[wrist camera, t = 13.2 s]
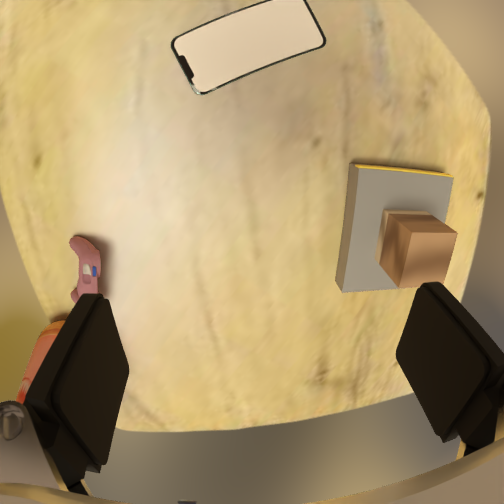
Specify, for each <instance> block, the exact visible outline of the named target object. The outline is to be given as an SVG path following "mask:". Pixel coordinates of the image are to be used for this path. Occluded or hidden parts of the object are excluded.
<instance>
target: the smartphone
mask: <svg viewBox="0 0 504 504" xmlns="http://www.w3.org/2000/svg"><path fill="white" fill-rule="evenodd" d="M325 44H326V37H325V35H324V33H323V31H322V29H321V27H320V25H319V23H318V21H317V19H316V18H315V16H314V14H313V12H312V10H311V8H310V6H309V4H308V3H307V1H306V0H265V1H262V2H259V3H256V4H253V5H250V6H248V7H245V8H242V9H239V10H237V11H234V12H231V13H229V14H226V15H224V16H221V17H219V18H216V19H214V20H211V21H209V22H207V23H204V24H202V25H200V26H198V27H195V28H193V29H191V30H189V31H187V32H185V33H183V34H181V35H179V36H177V37H175V38H174V39H173V40H172V42H171V49H172V51H173V52H174V54H175V56H176V58H177V60H178V62H179V64H180V66H181V68H182V70H183V72H184V74H185V75H186V77H187V79H188V81H189V83H190V85H191V87H192V89H193V91H194V92H195V93H196V94H199V95H205V94H208V93H210V92H212V91H214V90H216V89H218V88H220V87H222V86H225V85H227V84H229V83H231V82H233V81H236V80H238V79H240V78H243V77H245V76H247V75H250V74H252V73H254V72H257V71H259V70H262V69H264V68H267V67H269V66H272V65H274V64H277V63H280V62H282V61H285V60H288V59H291V58H293V57H296V56H299V55H302V54H305V53H308V52H311V51H314V50H317V49H320V48H323V47H324V46H325Z"/></svg>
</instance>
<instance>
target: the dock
mask: <svg viewBox="0 0 504 504" xmlns="http://www.w3.org/2000/svg"><path fill="white" fill-rule="evenodd" d="M453 179H454V177H453V176H452V175H450V174H445V173H442V172H436V171H428V170H420V169H411V168H402V167H391V166H380V165H368V164H354V163H350V164H349V175H348V186H347V196H346V205H345V214H344V222H343V230H342V238H341V245H340V252H339V259H338V266H337V273H336V279H335V281H336V283H337V285H338V287H339V288H340V290H341V292H342V293H345V292H360V291H374V290H387V289H400V288H398V287H397V286H396V284H395V283H394V282H393V281H392V279H391V278H390V277H389V276H388V275H387V273H386V272H385V271H384V270H383V268H382V267H381V266H380V265H379V264H378V262H377V261H376V260H375V259H374V257H375V252H376V247H377V242H378V236H379V230H380V224H381V218H382V212H383V209H391V210H416V211H427V212H428V213H430V214H431V215H433V216H434V217H436V218H437V219H439V220H440V221H441V222H443V223H444V224H445V222H446V217H447V212H448V207H449V202H450V197H451V191H452V185H453ZM408 288H412V287H408Z"/></svg>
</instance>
